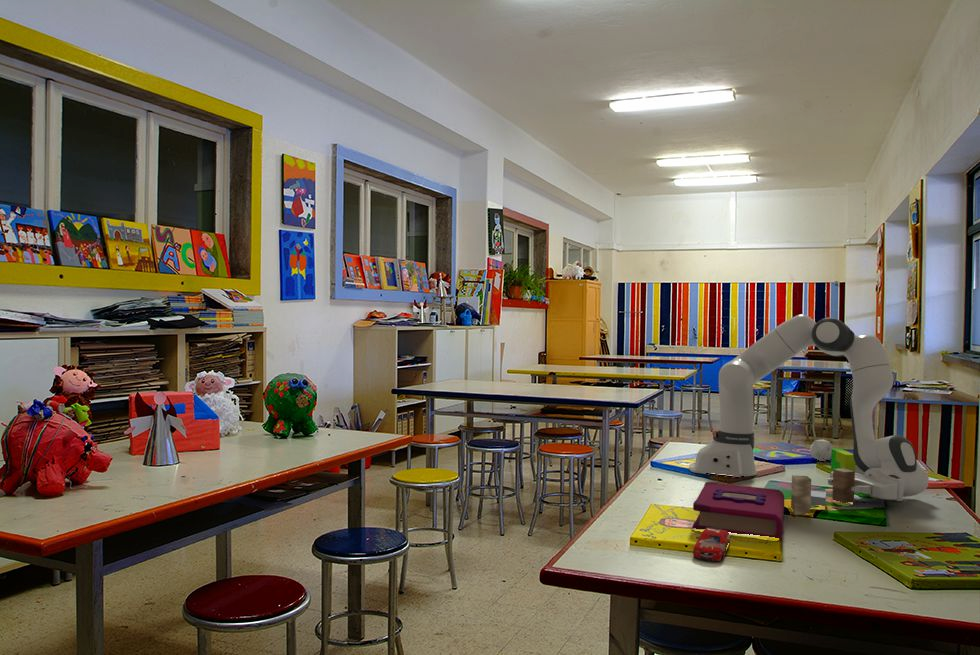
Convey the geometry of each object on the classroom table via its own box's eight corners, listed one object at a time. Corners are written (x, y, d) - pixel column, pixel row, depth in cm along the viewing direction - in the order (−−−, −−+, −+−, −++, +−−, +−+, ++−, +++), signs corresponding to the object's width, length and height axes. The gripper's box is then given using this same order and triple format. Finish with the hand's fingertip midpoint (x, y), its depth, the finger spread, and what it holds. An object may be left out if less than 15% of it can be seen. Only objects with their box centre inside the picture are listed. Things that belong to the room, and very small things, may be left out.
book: (783, 515, 200) (784, 487, 200) (781, 544, 175) (782, 513, 174) (704, 505, 209) (705, 479, 208) (691, 532, 183) (692, 502, 183)
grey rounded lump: (807, 462, 274) (822, 445, 269) (802, 447, 282) (817, 430, 276) (827, 470, 275) (842, 453, 270) (821, 455, 282) (836, 438, 277)
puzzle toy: (875, 486, 236) (876, 455, 235) (844, 485, 236) (845, 454, 236) (860, 479, 246) (861, 449, 245) (830, 478, 246) (831, 448, 246)
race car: (720, 566, 158) (721, 544, 158) (689, 561, 161) (690, 539, 161) (733, 545, 172) (734, 525, 172) (704, 540, 176) (705, 520, 175)
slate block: (798, 508, 207) (798, 494, 207) (799, 502, 213) (799, 489, 213) (825, 512, 204) (825, 497, 204) (825, 506, 210) (826, 492, 210)
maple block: (794, 514, 199) (796, 478, 199) (790, 510, 203) (791, 475, 203) (810, 515, 199) (811, 479, 199) (805, 511, 203) (806, 476, 203)
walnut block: (842, 506, 209) (843, 472, 209) (832, 503, 213) (833, 469, 213) (853, 505, 210) (854, 471, 210) (843, 502, 214) (844, 468, 214)
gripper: (851, 465, 225) (815, 467, 221) (908, 480, 206) (869, 482, 202) (851, 485, 225) (814, 487, 221) (907, 502, 206) (868, 505, 202)
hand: (841, 485), depth 211 cm, fingers open, 8 cm apart
